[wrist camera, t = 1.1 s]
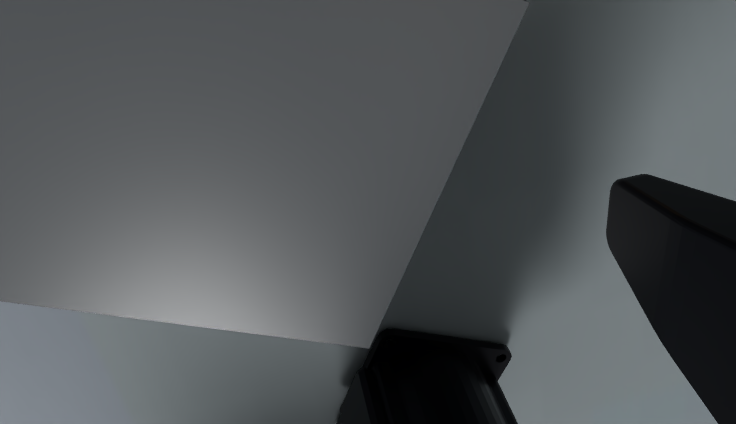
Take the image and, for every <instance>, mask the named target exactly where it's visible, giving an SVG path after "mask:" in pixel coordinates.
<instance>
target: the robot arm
mask: <svg viewBox="0 0 736 424" xmlns="http://www.w3.org/2000/svg"><path fill="white" fill-rule="evenodd" d="M606 236H607V242H608V245H609V248H610V250H611V252H612V254H613V256H614V258H615V259H616V261H617V263H618V265H619V267H620V269H621V270H622V272H623V274H624V276H625V278H626V279H627V281H628V283H629V285H630V287H631V289H632V290H633V292H634V294H635V296H636V298H637V300H638V301H639V303H640V305H641V307H642V309H643V311H644V312H645V314H646V316H647V318H648V320H649V321H650V323H651V325H652V327H653V329H654V330H655V332H656V334H657V335H658V337H659V339H660V341H661V342H662V344H663V345H664V347H665V348H666V350H667V351H668V353H669V354H670V356H671V357H672V359H673V360H674V362H675V363H676V364H677V366H678V367H679V369H680V370H681V372H682V373H683V374H684V376H685V377H686V379H687V380H688V381H689V383H690V384H691V386H692V387H693V389H694V390H695V391H696V393H697V394H698V396H699V397H700V398H701V400H702V401H703V403H704V404H705V406H706V407H707V408H708V410H709V411H710V413H711V414H712V416H713V417H714V418H715V420H716V421H717V423H718V424H736V201H733V200H729V199H726V198H723V197H720V196H717V195H713V194H710V193H707V192H704V191H700V190H697V189H694V188H691V187H687V186H684V185H681V184H678V183H674V182H671V181H668V180H665V179H661V178H658V177H655V176H652V175H648V174H640V175H635V176H631V177H627V178H622V179H618V180H616V181H615V182H614V183H613V185H612V187H611V190H610V198H609V208H608V218H607V228H606ZM389 339H392V340H391V341H389V342H386V341H387V340H389ZM511 357H512V356H511V353H510V351H509V349H508V347H507V346H506V345H504V344H498V343H491V342H484V341H477V340H470V339H463V338H455V337H448V336H441V335H434V334H427V333H420V332H413V331H406V330H399V329H385V330H383V331H381V332H380V333H379V334H378V336H377V338H376V340H375V342H374V344H373V346H372V349H371V351H370V353H369V355H368V357H367V359H366V361H365V364H364V366H363V368H361V369H360V370H359V371H358V372H357V374H356V376H355V378H354V380H353V382H352V384H351V386H350V389H349V391H348V393H347V395H346V397H345V399H344V402H343V404H342V406H341V408H340V413H341V415H340V417H339V419H338V421H337V424H518V423H517V421H516V419H515V417H514V415H513V413H512V410H511V408H510V406H509V404H508V402H507V400H506V398H505V396H504V394H503V392H502V390H501V388H500V385H499V383H498V379H499V378H500V376H501V374H502V373H503V371H504V369H505V368H506V366H507V365H508V363H509V361H510V360H511Z"/></svg>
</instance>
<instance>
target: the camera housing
mask: <svg viewBox="0 0 736 424" xmlns="http://www.w3.org/2000/svg"><path fill="white" fill-rule="evenodd" d="M528 5H529V2H528V1H526V0H0V301H2V302H10V303H18V304H26V305H34V306H41V307H49V308H57V309H65V310H73V311H80V312H88V313H96V314H104V315H112V316H119V317H127V318H135V319H143V320H151V321H158V322H166V323H174V324H182V325H189V326H197V327H205V328H213V329H221V330H228V331H236V332H244V333H252V334H260V335H267V336H275V337H283V338H291V339H299V340H306V341H314V342H322V343H330V344H338V345H345V346H353V347H361V348H370V346H371V344H372V341H373V339H374V337H375V335H376V333H377V331H378V328H379V326H380V324H381V322H382V320H383V318H384V316H385V313H386V311H387V309H388V307H389V305H390V303H391V300H392V298H393V296H394V294H395V292H396V290H397V288H398V285H399V283H400V281H401V279H402V277H403V275H404V272H405V270H406V268H407V266H408V264H409V262H410V260H411V257H412V255H413V253H414V251H415V249H416V247H417V244H418V242H419V240H420V238H421V236H422V234H423V232H424V229H425V227H426V225H427V223H428V221H429V219H430V216H431V214H432V212H433V210H434V208H435V206H436V204H437V201H438V199H439V197H440V195H441V193H442V191H443V188H444V186H445V184H446V182H447V180H448V178H449V176H450V173H451V171H452V169H453V167H454V165H455V163H456V160H457V158H458V156H459V154H460V152H461V150H462V148H463V145H464V143H465V141H466V139H467V137H468V135H469V132H470V130H471V128H472V126H473V124H474V122H475V119H476V117H477V115H478V113H479V111H480V109H481V107H482V104H483V102H484V100H485V98H486V96H487V94H488V91H489V89H490V87H491V85H492V83H493V81H494V79H495V76H496V74H497V72H498V70H499V68H500V66H501V63H502V61H503V59H504V57H505V55H506V53H507V51H508V48H509V46H510V44H511V42H512V40H513V38H514V35H515V33H516V31H517V29H518V27H519V25H520V23H521V20H522V18H523V16H524V14H525V12H526V10H527V7H528Z"/></svg>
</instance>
